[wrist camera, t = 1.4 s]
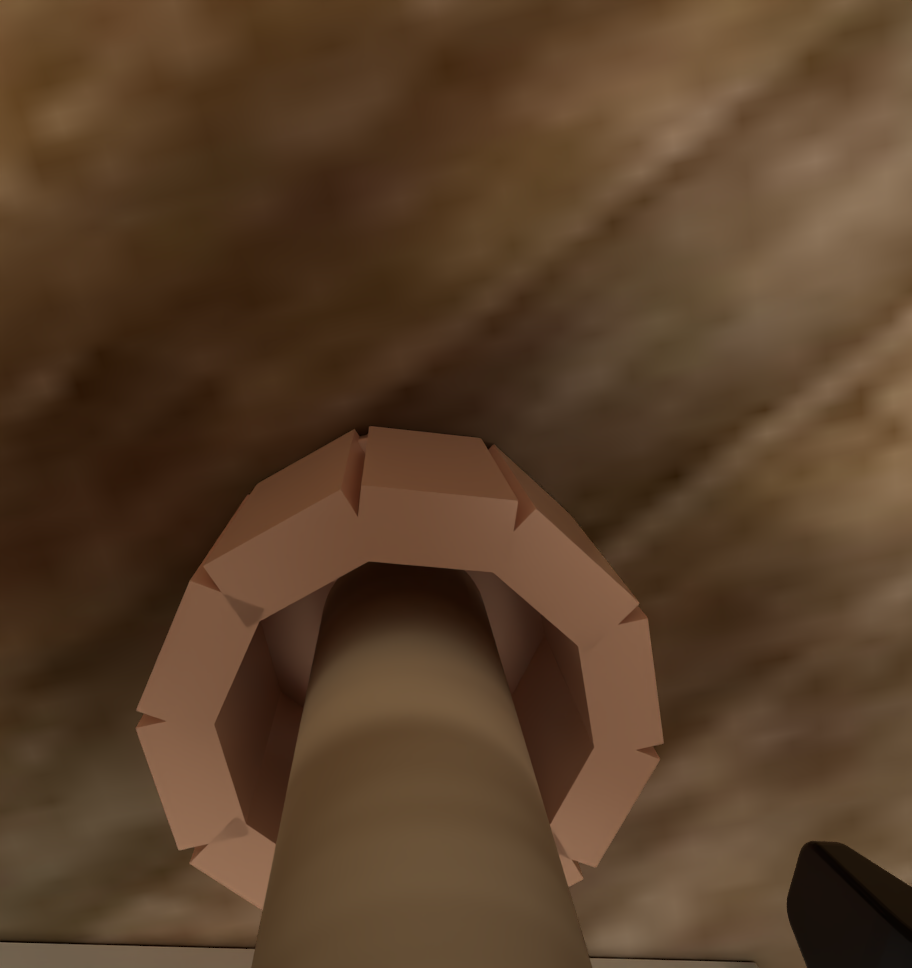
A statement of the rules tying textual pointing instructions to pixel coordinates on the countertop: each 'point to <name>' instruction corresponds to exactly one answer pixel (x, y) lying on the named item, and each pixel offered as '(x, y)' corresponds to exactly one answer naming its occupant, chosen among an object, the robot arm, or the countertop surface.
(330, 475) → the cup
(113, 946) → the tray
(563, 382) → the countertop surface
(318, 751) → the dowel
